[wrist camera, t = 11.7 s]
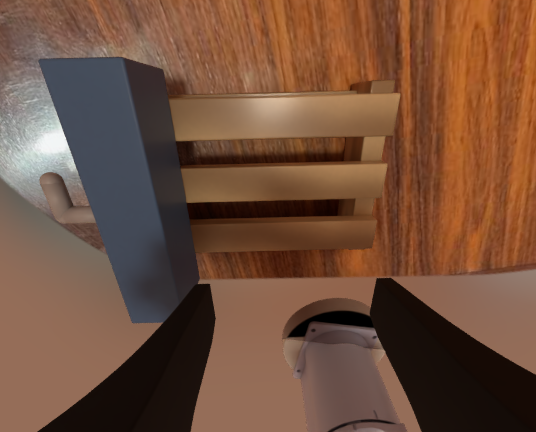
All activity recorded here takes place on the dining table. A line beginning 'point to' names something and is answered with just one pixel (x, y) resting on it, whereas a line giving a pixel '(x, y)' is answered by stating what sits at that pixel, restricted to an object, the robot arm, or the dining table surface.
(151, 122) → the slate blue rectangular box
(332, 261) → the dining table surface
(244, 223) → the rack
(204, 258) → the dining table surface
